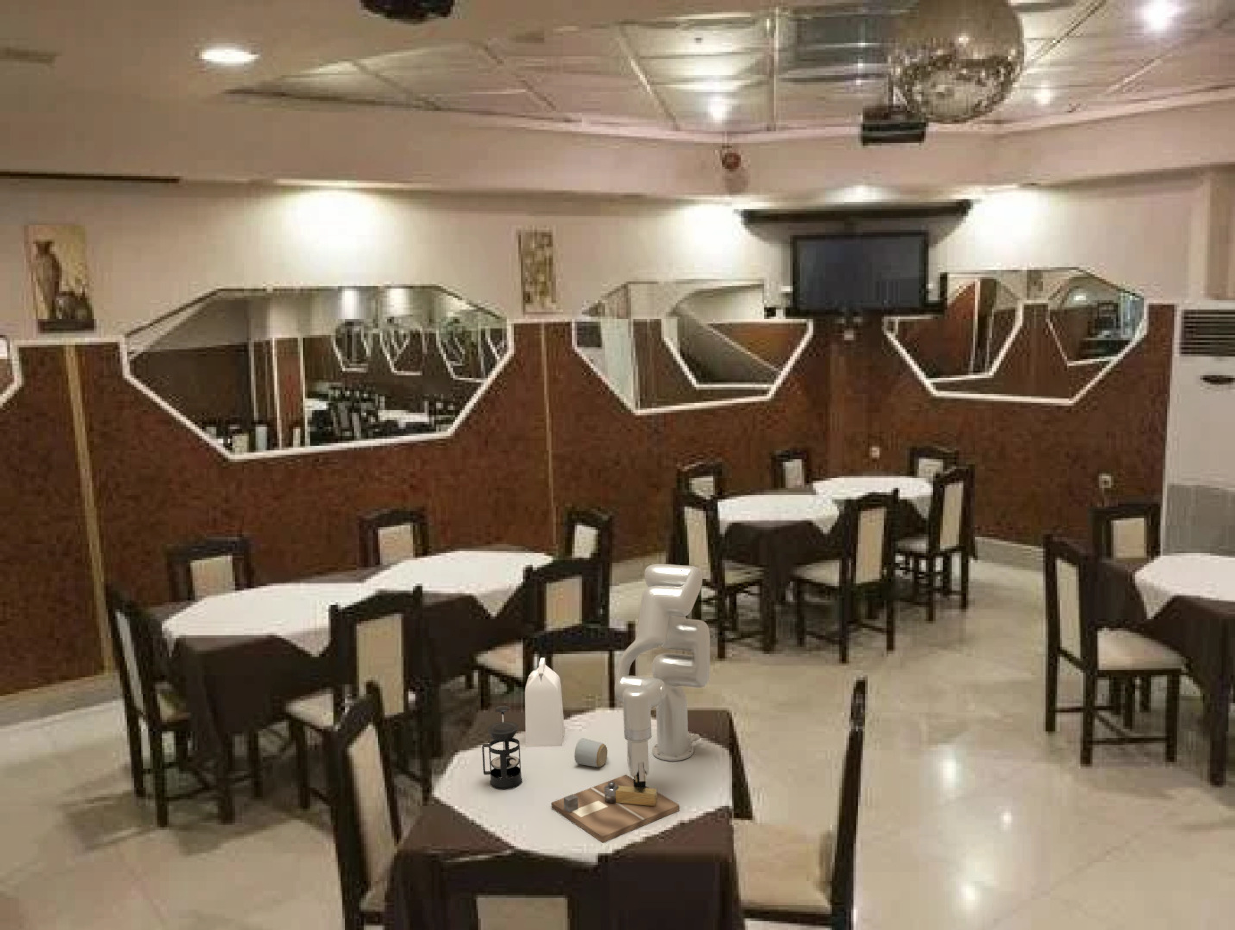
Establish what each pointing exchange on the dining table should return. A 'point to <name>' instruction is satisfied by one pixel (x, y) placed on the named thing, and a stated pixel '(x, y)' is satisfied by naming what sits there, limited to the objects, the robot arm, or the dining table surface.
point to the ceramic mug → (590, 753)
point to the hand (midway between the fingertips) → (640, 793)
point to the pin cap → (611, 784)
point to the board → (610, 811)
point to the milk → (543, 708)
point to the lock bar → (631, 795)
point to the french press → (503, 754)
